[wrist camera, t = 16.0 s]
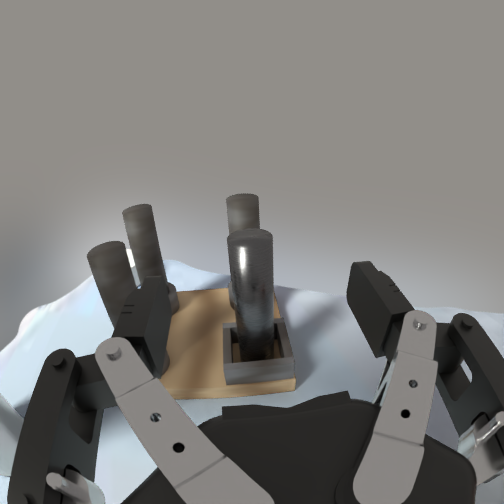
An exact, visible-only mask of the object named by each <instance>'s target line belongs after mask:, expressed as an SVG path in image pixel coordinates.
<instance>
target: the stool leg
mask: <svg viewBox="0 0 504 504" xmlns="http://www.w3.org/2000/svg"><path fill="white" fill-rule="evenodd" d="M227 244H228V253H229V264H230V273H231V282H232V291H233V300H234V309H235V318H236V326H237V335H238V343H239V351H240V359H241V362H251V361H261V360H270V359H274V287H273V237H272V234H271V233H270V232H268V231H266V230H262V229H257V228H248V229H242V230H238V231H235V232H233V233H231V234H230V235H229V236H228V238H227Z"/></svg>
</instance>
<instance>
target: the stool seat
mask: <svg viewBox="0 0 504 504" xmlns="http://www.w3.org/2000/svg"><path fill="white" fill-rule="evenodd" d="M226 203H227V213H228V224H229V235H230V234H231V233H233V232H235V231H238V230H242V229H248V228H257V229H260V226H259V225H260V223H259V201H258V196H257V195H254V194H236V195H232V196H230V197H228V198H227V199H226ZM122 214H123V219H124V223H125V227H126V232H127V236H128V239H129V243H130V248H131V252H132V255H133V259H134V263H135V267H136V270H137V274H138V277H139V281H140V284H141V287H142V284H143V281H144V279H145V277H146V276H163V277H164V279H165V282H166V287H167V291H168V295H169V299H170V303H171V310H172V318H171V324H170V329H169V335H168V341H167V346H166V352H165V358H164V364H163V371H162V377H161V379H159V381H160V382H161V383H162V385H163V386H164V387H165V388H166V390H167V391H168V392H169V394H170V395H171V396H172V397H173V399H210V398H229V397H242V396H253V395H263V394H272V393H280V392H288V391H295V384H296V378H295V374H294V368H295V361H294V357H293V353H292V350H291V346H290V342H289V338H288V334H287V330H286V326H285V323H284V319H283V318H281V317H280V313H279V309H278V305H277V301H276V297H275V293H274V359H270V360H261V361H251V362H241V359H240V351H239V343H238V335H237V326H236V318H235V309H234V300H233V291H232V282H230V283H229V285H228V288H220V289H208V290H195V291H181V292H176V288H175V286H174V285H173V284H171V283H169V282H167V278H166V273H165V269H164V265H163V260H162V257H161V252H160V248H159V242H158V237H157V232H156V227H155V222H154V217H153V212H152V206H151V205H149V204H140V205H135V206H132V207H129V208H127V209H125V210H124V211H123V212H122ZM87 259H88V262H89V265H90V268H91V271H92V273H93V276H94V279H95V282H96V285H97V287H98V290H99V293H100V295H101V298H102V300H103V303H104V305H105V308H106V310H107V313H108V315H109V317H110V320H111V322H112V324H113V327H114V329H115V326H116V324H117V321H118V319H119V316H120V314H121V311H122V308H123V307H124V303H125V301H126V298H127V296H128V295H129V294H130V293H131V292H132V291H133V290H134V289H137V286H136V283H135V280H134V276H133V273H132V270H131V266H130V262H129V259H128V255H127V251H126V248H125V244H124V243H123V242H120V241H111V242H106V243H103V244H100V245H98V246H96V247H94V248H93V249H91V250H90V251H89V252H88V254H87Z"/></svg>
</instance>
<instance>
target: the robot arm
mask: <svg viewBox="0 0 504 504" xmlns="http://www.w3.org/2000/svg"><path fill="white" fill-rule="evenodd" d="M347 302H348V305H349V307H350V309H351V311H352V312H353V314H354V316H355V318H356V320H357V322H358V324H359V326H360V328H361V330H362V332H363V334H364V336H365V338H366V340H367V341H368V343H369V345H370V347H371V349H372V351H373V354H374V356H375V358H378V357H382V356H386V358H387V361H386V363H385V366H384V369H383V372H382V375H381V378H380V381H379V384H378V387H377V390H376V392H375V395H374V398H373V400H372V402H368V401H364V400H358V399H350V396H349V393H348V391H344V392H339V393H334V394H328V395H323V396H318V397H316V398H313V399H311V400H308V401H306V402H303V403H301V404H298V405H295V406H293V407H289V408H282V407H271V406H262V405H241V406H224V407H222V415H221V416H217V417H214V418H212V419H209V420H207V421H205V422H203V423H202V424H200V425H199V426H196V425H195V424H194V422H193V421H192V420H191V419H190V418H189V417H188V415H187V414H186V413H185V412H184V411H183V410H182V408H181V407H180V406H179V405H178V404H177V402H176V401H175V400H174V399H173V397H172V396H171V395H170V394H169V392H168V391H167V390H166V388H165V387H164V386H163V385H162V383H161V382H160V381H159V379H161V377H162V371H163V364H164V358H165V352H166V346H167V341H168V335H169V329H170V324H171V318H172V310H171V303H170V299H169V295H168V291H167V287H166V282H165V279H164V277H163V276H146V277H145V279H144V281H143V284H142V287H141V289H134V290H133V291H132V292H131V293H130V294H129V295H128V296H127V298H126V301H125V303H124V307H123V308H122V311H121V314H120V316H119V319H118V321H117V324H116V326H115V329H114V332H113V335H112V337H111V338H109V339H107V340H105V341H103V342H102V343H101V344H100V345H99V346H98V347H97V349H96V352H95V353H94V354H91V355H86V356H82V357H77V358H76V357H75V355H74V353H73V352H72V351H71V350H69V349H58V350H56V351H54V352H52V353H51V354H50V355H49V356H48V357H47V358H46V360H45V362H44V365H43V367H42V370H41V372H40V375H39V377H38V380H37V383H36V385H35V388H34V391H33V394H32V397H31V400H30V403H29V406H28V409H27V412H26V415H25V418H23V417H22V416H21V415H20V414H19V413H18V412H17V411H16V410H15V409H14V408H13V407H12V406H11V405H10V404H9V403H8V401H7V400H6V399H5V398H4V397H3V396H2V394H1V393H0V475H2V476H5V477H7V476H10V482H9V488H8V495H7V502H8V504H105V497H104V494H103V492H102V490H101V489H100V488H99V486H97V485H96V484H95V483H94V478H95V468H96V459H97V451H98V443H99V436H100V430H101V423H102V417H103V412H104V408H109V407H114V406H119V408H120V409H121V411H122V413H123V415H124V416H125V418H126V420H127V421H128V423H129V425H130V426H131V428H132V429H133V431H134V433H135V434H136V436H137V437H138V439H139V440H140V442H141V443H142V445H143V446H144V448H145V449H146V451H147V452H148V454H149V455H150V456H151V458H152V459H153V461H154V462H155V463H156V465H157V466H158V467H157V468H156V469H155V470H154V471H153V473H152V474H151V475H150V476H149V477H148V478H147V479H146V480H145V481H144V482H143V483H142V484H141V485H140V486H139V487H138V488H136V489H135V490H134V491H133V492H132V493H131V494H130V495H129V496H128V497H127V498H126V499H125V500H124V501H123V502H122V503H121V504H475V495H476V487H477V486H478V485H480V484H481V483H487V482H489V481H491V480H492V479H494V478H496V477H497V476H499V475H500V474H502V473H503V472H504V358H503V357H502V355H501V354H500V352H499V351H498V349H497V348H496V346H495V345H494V344H493V342H492V341H491V339H490V338H489V336H488V335H487V334H486V332H485V331H484V330H483V328H482V327H481V325H480V324H479V323H478V321H477V320H476V319H475V318H473V317H472V316H470V315H468V314H465V313H458V314H456V315H455V316H454V317H453V319H452V321H451V323H436V321H435V320H434V318H433V317H432V316H431V315H429V314H428V313H426V312H423V311H419V310H415V309H414V308H413V307H412V305H411V304H410V303H409V301H408V300H407V299H406V297H405V296H404V295H403V293H402V292H400V290H399V288H398V287H397V286H395V283H394V282H393V281H392V279H391V278H390V277H389V276H388V275H386V274H384V273H383V272H382V271H378V270H377V269H376V268H375V267H374V266H373V264H372V263H371V262H370V261H363V262H354V263H353V264H352V266H351V271H350V276H349V282H348V288H347ZM463 360H465V362H466V363H467V365H468V367H469V369H470V370H471V372H472V382H471V383H470V381H469V379H468V378H467V376H466V374H465V372H464V371H463V369H462V367H461V365H460V364H461V363H462V361H463ZM435 384H436V386H437V388H438V390H439V393H440V395H441V397H442V399H443V401H444V403H445V405H446V408H447V410H448V412H449V414H450V417H451V419H452V421H453V423H454V426H455V428H456V431H457V433H458V435H459V441H458V450H457V451H455V450H453V449H451V448H449V447H448V446H446V445H444V444H442V443H440V442H439V441H437V440H435V439H433V438H432V437H430V436H428V435H426V434H425V432H426V428H427V424H428V420H429V415H430V410H431V405H432V400H433V394H434V388H435Z"/></svg>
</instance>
